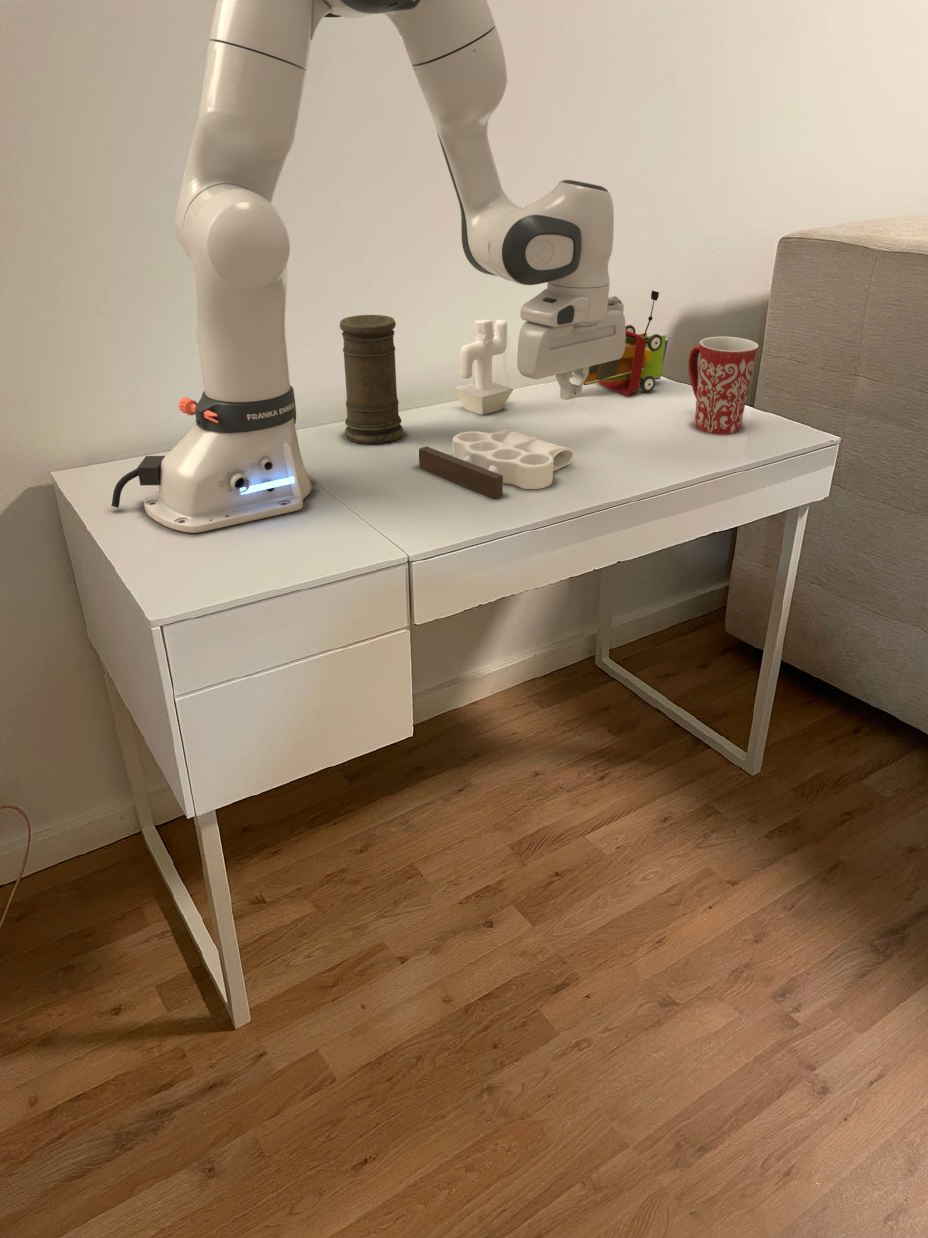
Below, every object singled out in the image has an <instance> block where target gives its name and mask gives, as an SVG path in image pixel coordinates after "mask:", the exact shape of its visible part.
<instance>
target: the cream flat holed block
mask: <svg viewBox="0 0 928 1238" xmlns="http://www.w3.org/2000/svg"><path fill="white" fill-rule="evenodd" d="M452 456H453V457H456V458H458V459H461V460H464V461H466V462H469V463H471V464H474V465H477V466H479V467H482V468H484V469H487V470H489V471H492V472H495V473H497V474H500V475H502V476H503V484H506V485H512V486H516V487H519V488H520V489H521V490H540V489H544V488H547V487H549V486H550V485H551V484H552V483H553V481H554V472H557V471H558V470H560V469H562V468H564V467H566V466H567V465H569V463H571V461H572V460H573V458H574V451H573V450H571V449H570V448H569V447H566V446H563V445H562V446H561V445H557V444H554V443H551V442H548V441H546V440H543V439H542V438H540V437H534V436H531V435H528V434H525V433H522V432H519V431H518V430H516V429H513V428H511V429H503V430H500V431H497V432H485V431H476V430H475V431H473V430H472V431H463V432H460V433H457V434H455V435H454V436H453V437H452Z"/></svg>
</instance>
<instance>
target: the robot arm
mask: <svg viewBox="0 0 928 1238" xmlns="http://www.w3.org/2000/svg"><path fill="white" fill-rule="evenodd" d="M377 14H382V15H384V16H385V17H386V18H387V19H389V20H390V21H391V23H392V24H393V26H394V27H395V29H396V30H397V33H398V34H399V36H401V39H402V41H403V45H404V48H405V50H406V53H407V56H408V58H409V59H408V60H409V62H410V64H411V67H412V70H413V72H414V75H415V77H416V80H417V82H418V85H419V87H420V89H421V92H422V95H423V97H424V99H425V102H426V106H427V107H428V109H429V113H430V115H431V118H432V121H433V124H434V127H435V129H436V133H437V137H438V140H439V144H440V147H441V151H442V153H443V157H444V160H445V163H446V165H447V170H448V172H449V176H450V179H451V182H452V185H453V188H454V192H455V194H456V197H457V201H458V204H459V209H460V218H461V223H460V224H461V228H460V229H461V231H460V232H461V234H460V235H461V245H462V249H463V253H464V255H465V258H466V260H467V261H468V263H469V264H470V265H471V266H472V268H474V269H475V270H476V271H478V272H480V273H482V274H485V275H488V276H489V275H490V276H494V277H499V278H502V279H504V280H506V281H510V282H513V283H515V284H518V285H520V286H521V285H522V286H536V285H537V286H538V285H540V284H545V283H546V284H547V285H546V288H545V289H543V290H542V291H541V292H540V293H538V294H537V295H535V296H533V298H531V299H530V300H528V301H526V302H525V303H523V304H522V305H521V307H520V313H519V315H520V319H521V320H523V321H525V322H524V323H523V324H522V326H521V327H520V330H519V334H518V340H517V341H518V342H517V357H516V358H517V361H516V363H517V365H516V366H517V370H518V372H519V373H520V375H521V376H523V377H526V378H528V379H533V380H541V379H545V378H548V377H553V376H555V378H556V380H557V383H558V385H559V387H560V389H559V398H560V399H562V400H565V401H568V400H573V399H577V398H580V397H582V394H583V393H582V392H583V386H584V382H585V380H586V378H587V376H588V374H589V366H593V365H597V364H601V363H605V362H609V361H613V360H617V359H620V358H621V357H622V356H623V354H624V351H625V340H626V327H625V326H626V318H625V314H624V309H625V307H624V303H623V301H622V300H621V299H620V298H619V297H618V296H616V295H614V296H613V295H612V296H610V297H609V295H610V294H609V292H610V283H611V282H610V280H611V279H610V275H609V263H610V259H611V256H612V252H613V246H614V232H615V231H614V230H615V229H614V228H615V227H614V225H615V212H614V201H613V197H612V194H611V192H610V191H609V190H608V189H607V188H605V187H604V186H602V185H598V184H593V183H590V182H589V183H588V182H584V181H583V182H582V181H578V180H573V179H563V180H560V181H559V182H558V183H557V185H556V186H555V187H554V188H553V189H552V190H551V191H549V192H548V193H546V195H544V196H542V197H541V198H539V199H537V200H535V201H534V202H532V203H530V204H527V205H525V206H524V207H522V206H518V205H516V204H515V203H514V202H513V201H512V200H511V199H510V198H509V197H508V196H507V194H506V193H505V191H504V189H503V187H502V183H501V179H500V177H499V173H498V170H497V166H496V163H495V159H494V156H493V152H492V149H491V145H490V142H489V136H488V135H489V134H488V126H489V121H490V118H491V116H492V114H494V112H495V111H496V110H497V108H498V107H499V105H500V104H501V102H502V100H503V98H504V95H505V93H506V90H507V86H508V70H507V64H506V63H507V62H506V57H505V52H504V48H503V44H502V41H501V38H500V35H499V32H498V29H497V26H496V23H495V21H494V17H493V14H492V12H491V9H490V5H489V4H488V1H487V0H216V2H215V7H214V12H213V16H212V21H211V27H210V32H209V33H210V34H209V38H208V39H209V40H208V44H207V45H208V47H207V52H206V53H207V54H206V60H205V65H204V66H205V67H204V74H203V80H202V88H201V94H200V100H199V108H198V113H197V118H196V123H195V128H194V132H193V135H192V140H191V142H190V147H189V152H188V155H187V159H186V164H185V168H184V173H183V177H182V182H181V186H180V191H179V195H178V200H177V206H176V212H175V217H174V223H175V224H174V226H175V227H174V228H175V234H176V237H177V241H178V243H179V245H180V246H181V248H182V251H184V253H185V255H187V256H188V258H189V259H191V261H192V265H193V270H194V279H195V280H194V281H195V293H196V294H195V295H196V321H197V322H196V323H197V324H196V330H195V331H196V339H197V347H198V354H199V363H200V368H201V375H202V382H203V392H202V394H201V397H200V399H199V401H198V402H197V401H196V400H194V399H191V398H189V397H186V396H185V397H182V398H181V399H179V402H178V405H177V407H178V408H179V409H178V410H179V411H181V413H184V414H186V415H187V416H195V424H194V425H193V427H192V428H191V429H190V430H188V432H187V433H185V435H184V436H183V437H182V438H181V439H180V440H179V441H178V443H176V445H175V446H174V447H173V448H171V450H170V451H169V452H168V453H167V454H166V455H145V456H144V458H143V459H142V460H141V462H140V463H139V465H138V466H137V468H135V469H133V470H131V471H129V472H128V473H126V474H124V475H123V476H122V477H121V478H120V479H119V480H118V481H117V483H116V484H115V485H114V486H115V487H114V489H113V493H112V501H111V505H110V506H111V507H113V508H116V509H119V508H120V507H119V506H120V501H121V495H122V491H123V489H124V487H125V486H126V485H127V483H129V482H130V481H132V480H133V479H135V478H137V477H138V480H139V485H140V486H158V491H156V492H153V493H151V494H148V495H146V496H145V497H144V500H143V506H144V511H145V513H146V514H147V515H148V516H149V517H150V518H151V519H153V520H154V521H155V522H157V523H158V524H161V525H162V526H165V527H166V528H169V529H172V530H174V531H178V532H184V533H192V534H197V533H198V534H199V533H203V532H207V531H211V530H216V529H220V528H225V527H230V526H234V525H238V524H244V523H248V522H253V521H256V520H261V519H266V518H270V517H274V516H279V515H283V514H289V513H292V512H297V511H300V510H302V509H303V507H304V499H305V498H307V496H308V495H309V494H310V493H311V491H312V489H313V485H312V483H311V481H310V478H309V475H308V473H307V470H306V467H305V464H304V461H303V457H302V454H301V453H302V452H301V449H300V445H299V440H298V435H297V428H296V423H297V408H296V407H297V406H296V398H295V391H294V390H295V389H294V387H293V386H292V385H291V382H290V369H289V357H288V347H287V337H286V336H287V335H286V309H287V293H288V262H289V257H290V253H291V251H290V250H291V245H290V237H289V233H288V230H287V227H286V225H285V222H284V219H283V218H282V216H281V215H280V213H279V211H278V210H277V208H275V206H274V204H272V203H273V200H274V196H275V193H276V190H277V186H278V183H279V180H280V177H281V175H282V174H281V173H282V171H283V168H284V165H285V164H286V162H287V161H286V160H287V158H288V156H289V154H290V152H291V151H292V148H293V146H294V144H295V137H296V133H297V126H298V121H299V117H300V116H299V115H300V110H301V105H302V99H303V93H304V88H305V83H306V77H307V71H308V66H309V59H310V51H311V44H312V41H313V38H314V35H315V33H316V30H317V28H318V27H319V25H320V23H321V22H322V20H323V18H341V17H343V18H348V19H358V18H359V19H360V18H365V17H368V16H370V15H377ZM574 372H575V373H574ZM572 374H573V377H572Z"/></svg>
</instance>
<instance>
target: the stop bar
mask: <svg viewBox="0 0 928 1238" xmlns="http://www.w3.org/2000/svg"><path fill="white" fill-rule="evenodd" d="M418 463H419V465H418V466H419V467H418V468H419V469H421V470H424V471H426V472H429V473H430V474H433V475H436V476H438V477H441V478H443V479H445V480H448V481H450V482H453V483H455V484H457V485H460V486H462V487H464V488H467V489H469V490H471V491H474V492H477V493H480V494H482V495H485V496H487V497H489V498H491V499H493V500H496V499H499V498H502V497H503V496H504V495H503V494H504V493H503V492H504V483H503V476H502V475H500V474H497V473H495V472H492V471H489V470H487V469H484V468H482V467H479V466H477V465H474V464H471V463H469V462H466V461H464V460H461V459H458V458H456V457H453V455H450V454H448V453H446V452H443V451H440V450H437V449H435V448H433V447H431V446H427V445H425V446H422V447H419V448H418Z"/></svg>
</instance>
